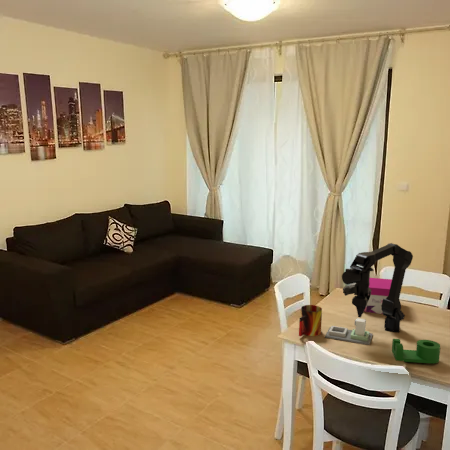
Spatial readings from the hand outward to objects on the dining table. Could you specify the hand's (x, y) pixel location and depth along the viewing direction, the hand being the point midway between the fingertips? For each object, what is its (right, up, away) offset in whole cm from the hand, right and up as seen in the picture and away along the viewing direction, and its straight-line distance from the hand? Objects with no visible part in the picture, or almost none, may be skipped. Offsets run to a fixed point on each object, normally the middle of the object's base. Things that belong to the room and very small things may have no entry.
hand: (360, 313), depth 209 cm
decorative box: (+21, -6, +39) cm, 45 cm away
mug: (-22, -11, +7) cm, 26 cm away
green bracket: (+18, -15, -17) cm, 29 cm away
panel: (-4, -11, +4) cm, 13 cm away
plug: (0, -11, +2) cm, 11 cm away
